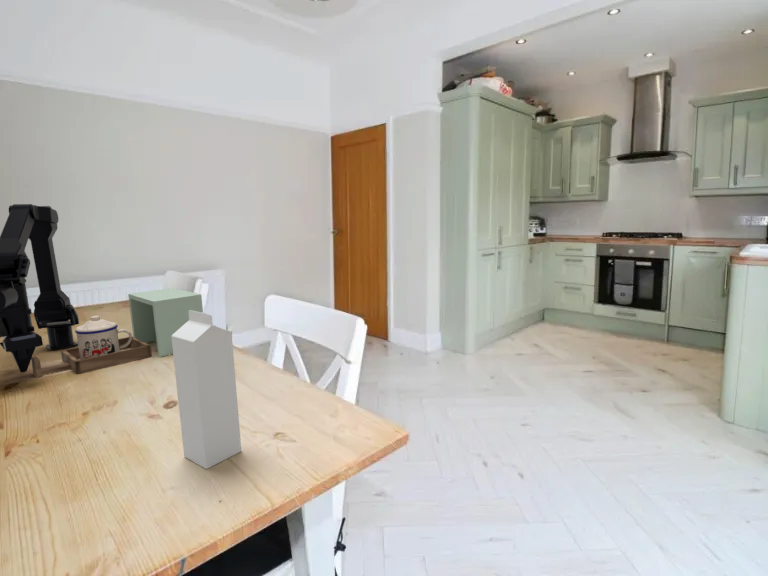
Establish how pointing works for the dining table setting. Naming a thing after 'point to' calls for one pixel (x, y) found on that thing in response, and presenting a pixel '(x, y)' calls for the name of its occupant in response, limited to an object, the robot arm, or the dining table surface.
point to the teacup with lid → (99, 338)
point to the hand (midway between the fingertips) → (23, 371)
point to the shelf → (161, 315)
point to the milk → (206, 390)
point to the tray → (95, 358)
